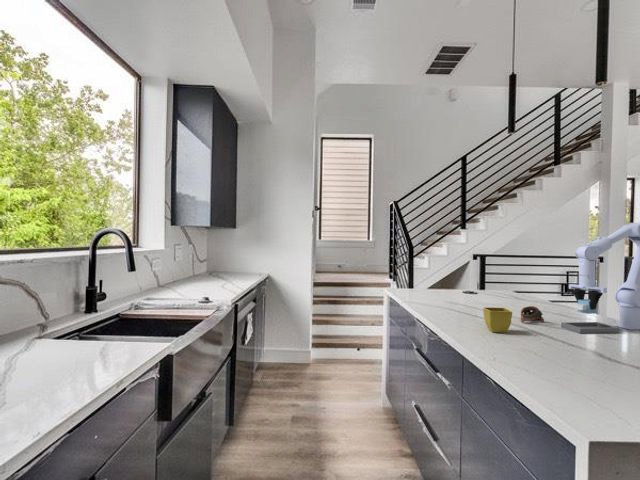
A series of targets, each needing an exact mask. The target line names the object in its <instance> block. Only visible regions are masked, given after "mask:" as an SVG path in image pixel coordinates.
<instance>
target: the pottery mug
mask: <svg viewBox="0 0 640 480" xmlns="http://www.w3.org/2000/svg"><path fill="white" fill-rule="evenodd" d="M543 315H544V314H543V313H542V311H541V310H540V309H539V307H537V306H533V305H532V306H531V305H528V306H524V307H523V308H521V310H520V322H521V323H522V324H524V322H535V321H537V322H541V323H542V324H545V318H544V317H542V316H543Z"/></svg>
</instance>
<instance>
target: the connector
mask: <svg viewBox="0 0 640 480" xmlns="http://www.w3.org/2000/svg"><path fill="white" fill-rule="evenodd" d="M574 307H575V308H574V309H575V310H577V312H578V313H583V314H586V315H587V314H588V315H589V314H592V315H593V314H597V313H598V305H597V306H596V309H594V310H592V309H591V308H590V298H588V299H586V298H584V299H583V300H578V303H575V304H574Z"/></svg>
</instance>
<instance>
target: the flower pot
mask: <svg viewBox="0 0 640 480" xmlns="http://www.w3.org/2000/svg"><path fill="white" fill-rule="evenodd" d="M512 317H513V311H512V310H510V309H508V308H506V307H494V306H493V307H488V306H487V307H486V306H485V307H483V318H484V321H485V322H484V324H485V325H486V327H487V329H488V330H489V331H490V332H492V333H502V334H503V333H504V334H505V333H507V331H508V330H509V329H510V326H511V323H512Z"/></svg>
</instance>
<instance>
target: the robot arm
mask: <svg viewBox="0 0 640 480" xmlns="http://www.w3.org/2000/svg"><path fill="white" fill-rule="evenodd" d="M625 238H628V239H629V240H630V241H631V242H632V243H634V244H635V245H636V247H637V248H636V250H635V253H634V257H633V260H632V263H631V266H630V269H629V272H628V275H627V279H626V281H625V282H623V283H622V284H620V286H619V288H618V289H617V290H616V291H615V294H614V299H615V301H616V303H618V306H619V323H618V324H616V323H615V324H614V327H617V328H621V329H626V330H630V331H632V330H640V222H627V223H626V224H624V225H622V226H621V227H619V229H617V230H616V231H614V232H613V233H611V234H610V235H608V236H598V237H596V239H595V240H593V241H592V242H588V243H587V244H586V245H581V246H579V247H578V248H577V249H576V251H575V253H574V254H575V255H574V256H575V257H576V259H577V262H578V284H574V283H570V284H568V289H569V290H572V294H573V296H574V298H575V300H576V304H578V300H583V299H585V295H586V293H587V294H588V296H589V299H590V308H591V309H592V310H594V309H596V306H597V307H598V303H599V301H600V299H601V297H602V296H603V294H604V293H605V294H606V293H607V290H608V288H607V287H603V286H597V285H596V260H598V259H599V258H600V255H601V254H604V253H606V252H607V251H608V250H611V249H612V248H613V244H615V243H618V242H620V241H621V240H624V239H625ZM587 291H588V292H587Z"/></svg>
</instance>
